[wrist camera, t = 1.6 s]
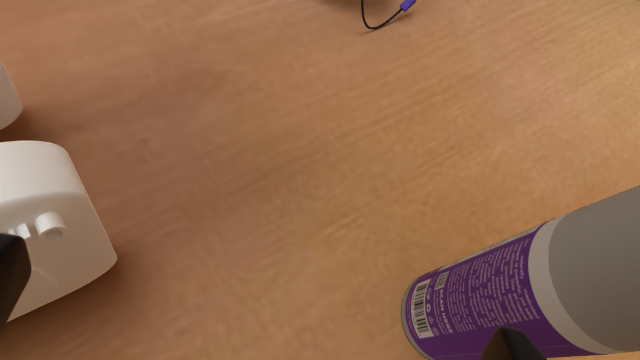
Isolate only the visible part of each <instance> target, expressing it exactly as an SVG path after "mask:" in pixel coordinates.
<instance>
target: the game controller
mask: <svg viewBox="0 0 640 360" xmlns="http://www.w3.org/2000/svg"><path fill="white" fill-rule="evenodd" d="M415 2H416V0H405V1H404V2H403V3H402V4H401V5H400V7H401V9H400V10H399V11H398V12H397V13H396V14H394V15H393V16H392V17H391V18H390V19H388V20H387V21H386V22H384V23H383V24H381V25H379V26H377V27H369V26H368V25H367V23H366V21H365V17H364V8H363V0H361V7H362V17H363V21H364V24H365V26H366V27H367V28H369V29H377V28H380V27H382V26H383V25H385V24H386V23H388V22H389V21H390V20H392V19H393V18H394V17H395V16H396V15H397V14H398V13H400V12H401V11H402V10H403V11H404V12H406V11H407V10H408V9H409V8H410V7H411V6H412V5H413V4H414V3H415Z"/></svg>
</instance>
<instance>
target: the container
mask: <svg viewBox="0 0 640 360" xmlns="http://www.w3.org/2000/svg"><path fill="white" fill-rule="evenodd" d="M401 314H402V322H403V326H404V329H405V332H406V334H407V337H408V338H409V340H410V342H411V343H412V345H413V346H414V347H415V348H416V349H417V350H418V351H419V352H420V353H421V354H422V355H423V356H425V357H426V358H428V359H430V360H481V358H482V353H483V351H484V349H485V347H486V346H487V344H488V342H489V341H490V339H491V337H492V336H493V334H494V332H495V331H496V329H497V328H498V327H500V326H506V327H511V328H516V329H520V330H522V331H523V332H524V333H525V334H526V335H527V336H528V337H529V339H530V340H531V341H532V342H533V343H534V345H535V346H536V347H537V348H538V350H539V351H540V352H541V353H542V354H543V356H544V357H545V358H555V357H572V356H589V355H605V354H614V353H624V352H634V351H640V185H639V186H636V187H634V188H631V189H629V190H626V191H624V192H621V193H619V194H616V195H613V196H611V197H608V198H606V199H603V200H601V201H598V202H595V203H593V204H590V205H588V206H585V207H583V208H580V209H577V210H575V211H572V212H570V213H567V214H565V215H562V216H559V217H557V218H554V219H551V220H549V221H547V222H545V223H542V224H540V225H538V226H535V227H533V228H531V229H528V230H526V231H524V232H521V233H519V234H517V235H514V236H512V237H510V238H508V239H505V240H503V241H501V242H498V243H496V244H494V245H491V246H489V247H487V248H484V249H482V250H480V251H477V252H475V253H473V254H471V255H468V256H466V257H464V258H461V259H459V260H457V261H454V262H452V263H450V264H447V265H445V266H443V267H440V268H438V269H436V270H434V271H431V272H429V273H427V274H424V275H423V276H420V277H419V278H417V279H416V280H415V281H414V282H413V283H412V284H411V285H410V286H409V287H408V289H407V291H406V293H405V295H404V298H403V302H402V312H401Z"/></svg>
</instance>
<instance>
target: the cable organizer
mask: <svg viewBox="0 0 640 360" xmlns="http://www.w3.org/2000/svg"><path fill="white" fill-rule="evenodd" d="M22 109H23V104H22V101H21V99H20V96H19V94H18V92H17V90H16V88H15V85H14V83H13V81H12V79H11V77H10V75H9V73H8V71H7V70H6V68H5V66H4V64H3V62H2V61H1V59H0V130H1V129H3V128H5V127H7V126H8V125H9V124H11V123H12V122H13V121H14V120H16V119H17V118H18V116H19V115H20V114H21V112H22ZM0 233H7V234H12V235H18V236H21V237H22V238H23V239H24V240H25V242H26V246H27V250H28V254H29V258H30V262H31V267H32V271H31V276H30V279H29V281H28V283H27V285H26V287H25V289H24V290H23V292H22V294H21V296H20V298H19V300H18V302H17V304H16V305H15V307H14V309H13V311H12V313H11V315H10V317H9V319H8V320H7V322H9V321H11V320H13V319H15V318H17V317H19V316H22V315H24V314H26V313H28V312H30V311H32V310H34V309H37V308H39V307H41V306H43V305H45V304H47V303H50V302H52V301H54V300H56V299H58V298H60V297H63V296H65V295H67V294H69V293H71V292H73V291H75V290H77V289H79V288H81V287H83V286H84V285H86V284H88V283H90V282H91V281H93V280H95V279H96V278H98V277H99V276H101V275H102V274H104V273H105V272H106V271H108V270H109V269H110V268H111V267H112V266H113V265H114V264H115V263H116V261H117V255H116V253H115V251H114V248H113V246H112V244H111V242H110V240H109V238H108V236H107V233H106V231H105V229H104V227H103V225H102V223H101V221H100V219H99V217H98V214H97V212H96V210H95V208H94V206H93V204H92V202H91V200H90V198H89V196H88V194H87V192H86V190H85V188H84V185H83V183H82V181H81V179H80V177H79V175H78V173H77V171H76V169H75V167H74V165H73V163H72V161H71V159H70V156H69V154H68V153H67V151H66V150H65V149H64V148H62V147H60V146H59V145H57V144H53V143H50V142H42V141H10V142H1V143H0Z"/></svg>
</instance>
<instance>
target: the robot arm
mask: <svg viewBox="0 0 640 360" xmlns="http://www.w3.org/2000/svg"><path fill="white" fill-rule="evenodd" d="M31 271H32V267H31V262H30V258H29V254H28V250H27V246H26V242H25V240H24V239H23V238H22V237H21V236H18V235H12V234H7V233H0V334H1V332H2V330H3V328H4V326H5V324H6V322H7V320H8V319H9V317H10V315H11V313H12V311H13V309H14V307H15V305H16V304H17V302H18V300H19V298H20V296H21V294H22V292H23V290H24V289H25V287H26V285H27V283H28V281H29V279H30V276H31ZM481 360H547V359H546V358H545V357H544V356H543V354H542V353H541V352H540V351H539V350H538V348H537V347H536V346H535V345H534V343H533V342H532V341H531V340H530V339H529V337H528V336H527V335H526V334H525V333H524V332H523V331H522V330H520V329H516V328H511V327H506V326H500V327H498V328H497V329H496V331H495V332H494V334H493V336H492V337H491V339H490V341H489V342H488V344H487V346H486V347H485V349H484V351H483V353H482V358H481Z"/></svg>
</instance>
